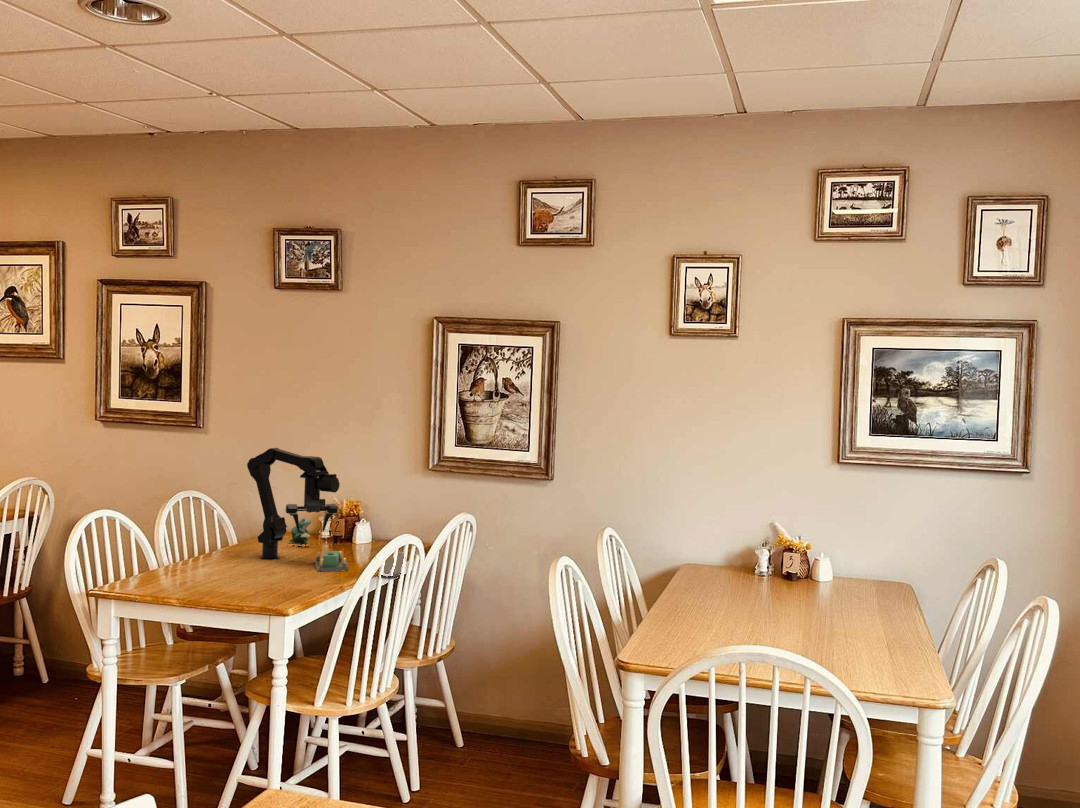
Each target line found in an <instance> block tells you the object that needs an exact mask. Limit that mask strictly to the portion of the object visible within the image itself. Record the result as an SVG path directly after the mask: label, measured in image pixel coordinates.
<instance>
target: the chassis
mask: <svg viewBox="0 0 1080 808" xmlns="http://www.w3.org/2000/svg"><path fill="white" fill-rule="evenodd" d="M338 551H339V561H338V563H337V565H336V566H323V560H324V558H323V557H322V558H321V551H316V558H313V564H314V563H315V564H314V566H316V567H315V568H317V569H316V571H317V570H318V571H337V572H343V571H342V570H349V569H350V566H349V565H348V563H347V557H342V556H343V551H342V550H338ZM318 571H317V572H318ZM349 571H350V570H349Z"/></svg>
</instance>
